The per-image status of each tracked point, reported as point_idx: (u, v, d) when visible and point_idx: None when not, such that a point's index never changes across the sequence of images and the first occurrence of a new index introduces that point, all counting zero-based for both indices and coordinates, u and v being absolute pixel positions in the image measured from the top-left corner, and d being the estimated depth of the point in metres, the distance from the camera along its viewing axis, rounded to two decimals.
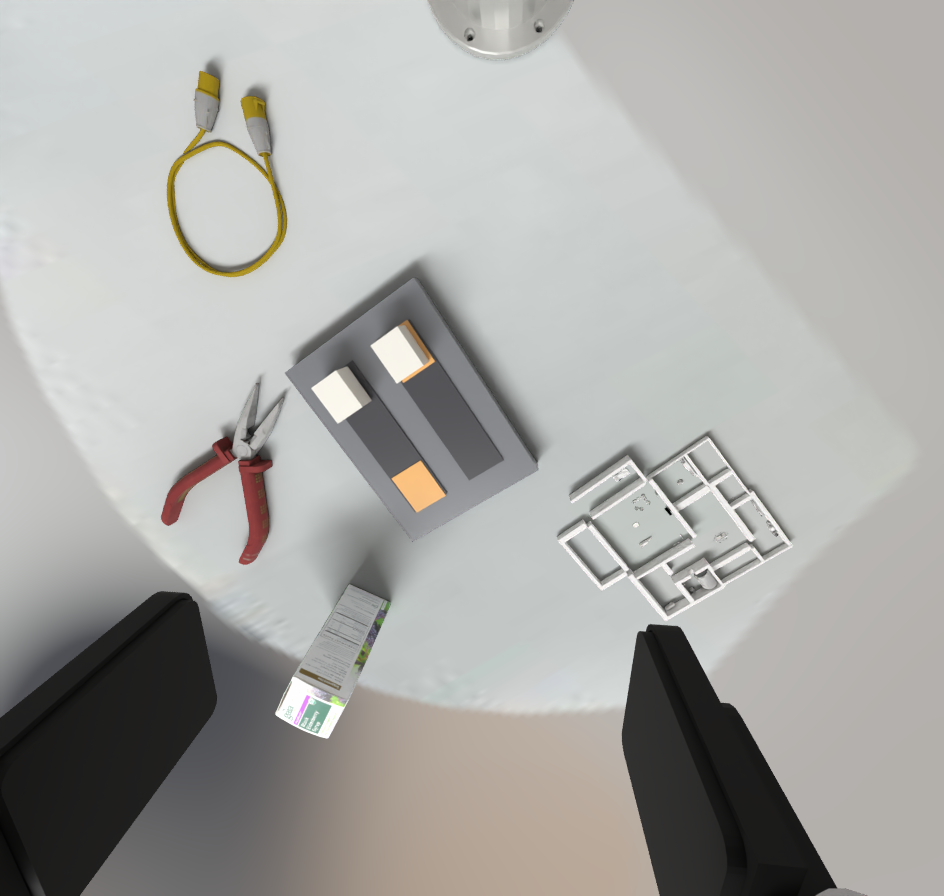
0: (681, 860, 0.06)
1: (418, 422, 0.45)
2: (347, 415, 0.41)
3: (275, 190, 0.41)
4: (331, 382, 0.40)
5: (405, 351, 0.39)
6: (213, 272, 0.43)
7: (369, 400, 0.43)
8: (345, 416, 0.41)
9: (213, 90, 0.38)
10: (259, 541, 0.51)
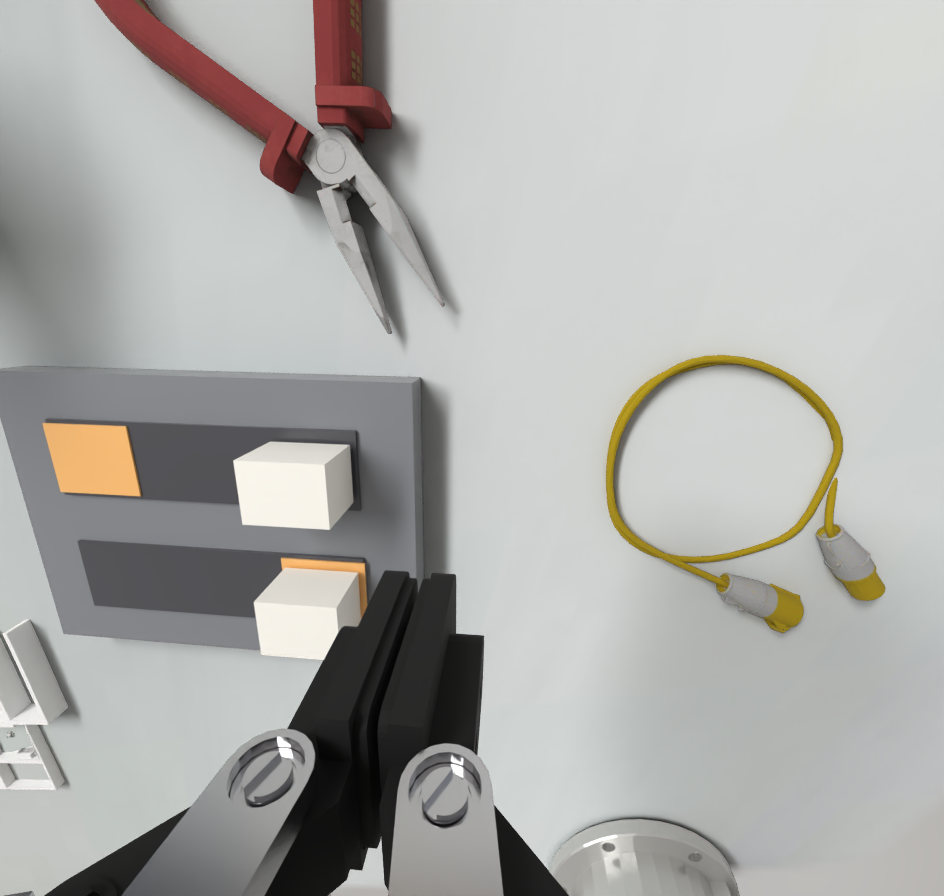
0: None
1: (209, 532, 0.24)
2: (240, 489, 0.19)
3: None
4: (314, 506, 0.19)
5: (296, 646, 0.21)
6: (659, 380, 0.21)
7: None
8: (240, 484, 0.19)
9: (849, 585, 0.23)
10: None
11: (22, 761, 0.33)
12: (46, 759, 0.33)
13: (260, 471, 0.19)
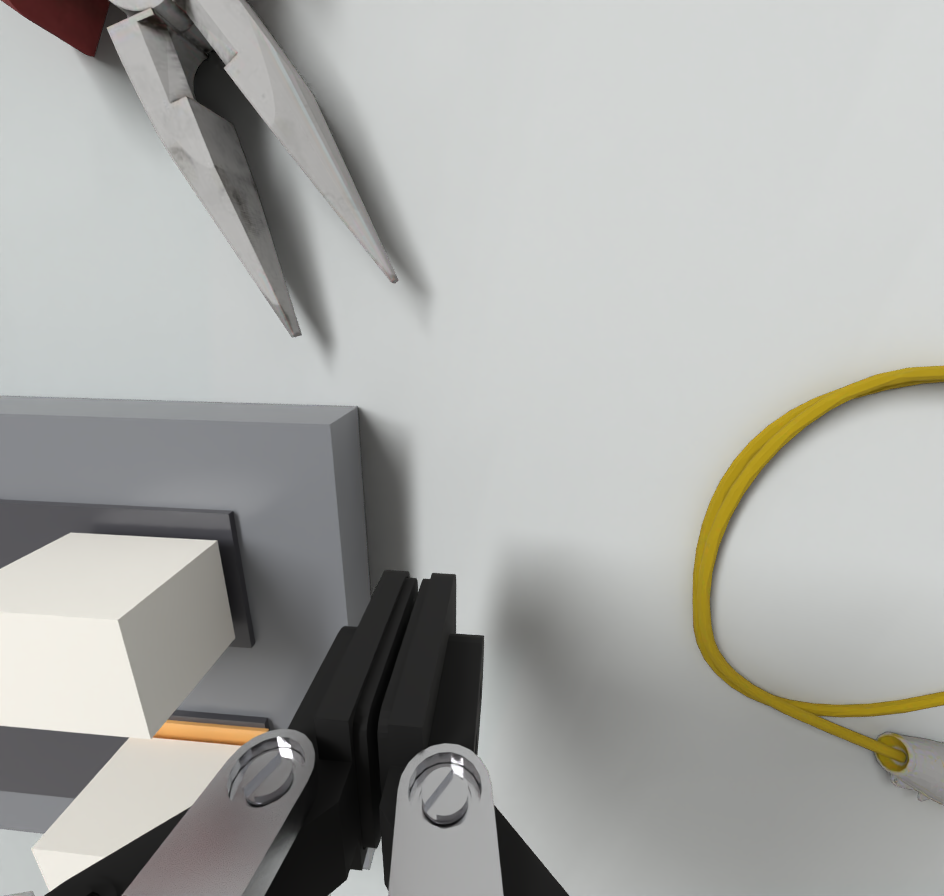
0: None
1: None
2: None
3: (807, 723, 0.14)
4: (112, 698, 0.09)
5: None
6: (812, 415, 0.11)
7: None
8: None
9: None
10: None
11: None
12: None
13: None
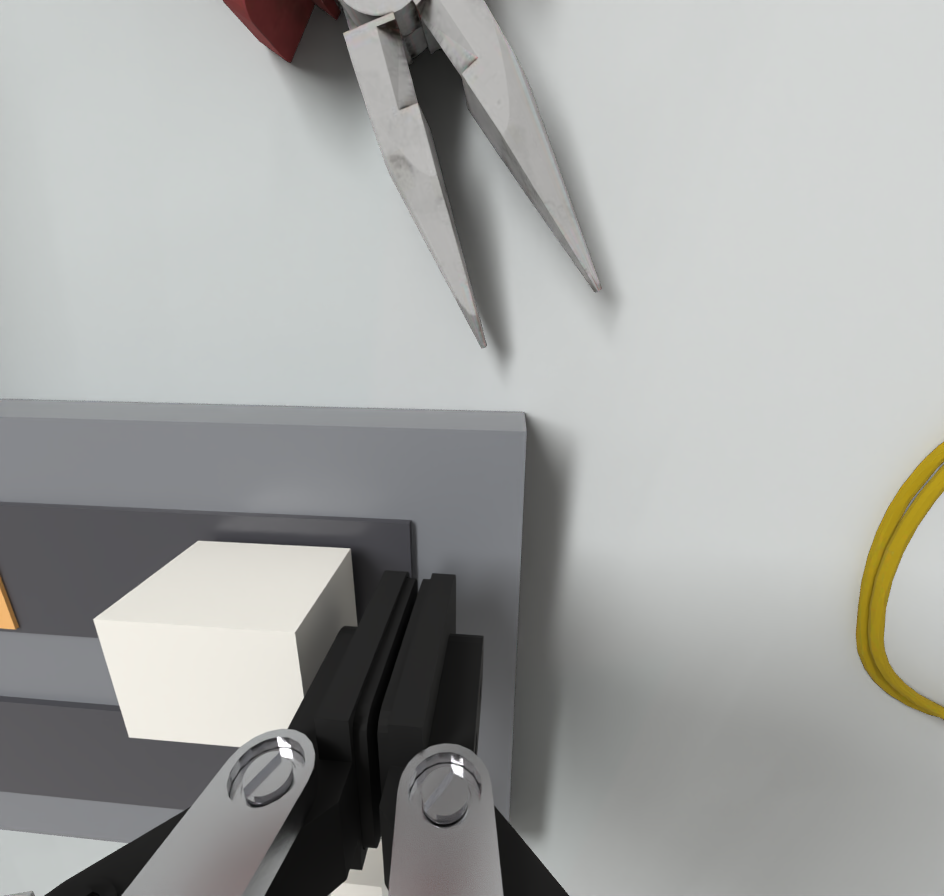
0: None
1: None
2: (115, 674, 0.09)
3: None
4: (276, 711, 0.09)
5: None
6: None
7: None
8: (114, 665, 0.09)
9: None
10: None
11: None
12: None
13: (154, 642, 0.09)
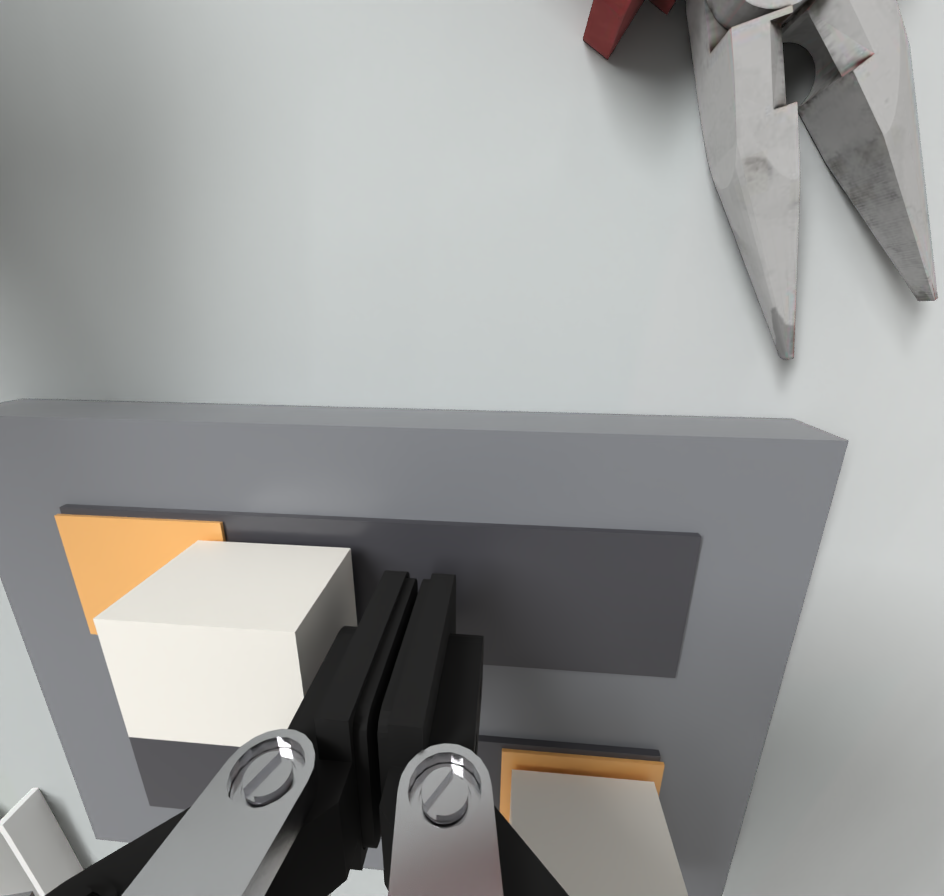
0: None
1: None
2: (115, 674, 0.09)
3: None
4: (276, 711, 0.09)
5: None
6: None
7: None
8: (114, 664, 0.09)
9: None
10: None
11: None
12: None
13: (154, 641, 0.09)
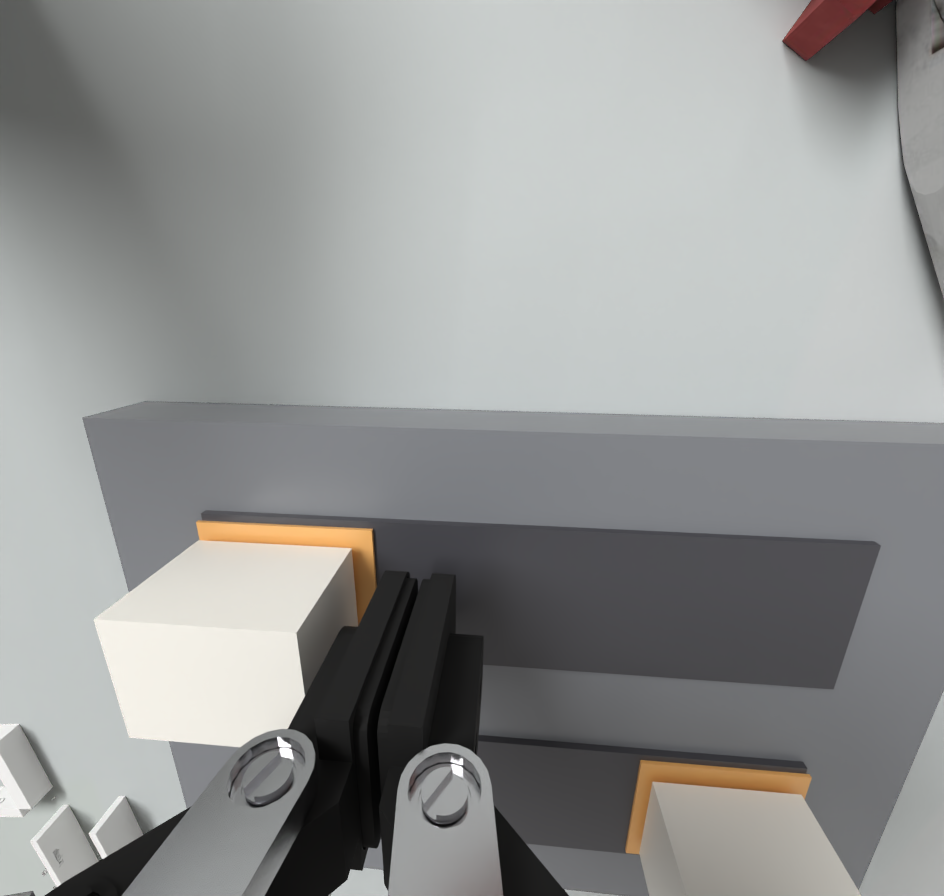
0: None
1: (500, 713, 0.13)
2: (115, 674, 0.09)
3: None
4: (277, 712, 0.09)
5: None
6: None
7: None
8: (114, 665, 0.09)
9: None
10: None
11: None
12: None
13: (155, 642, 0.09)
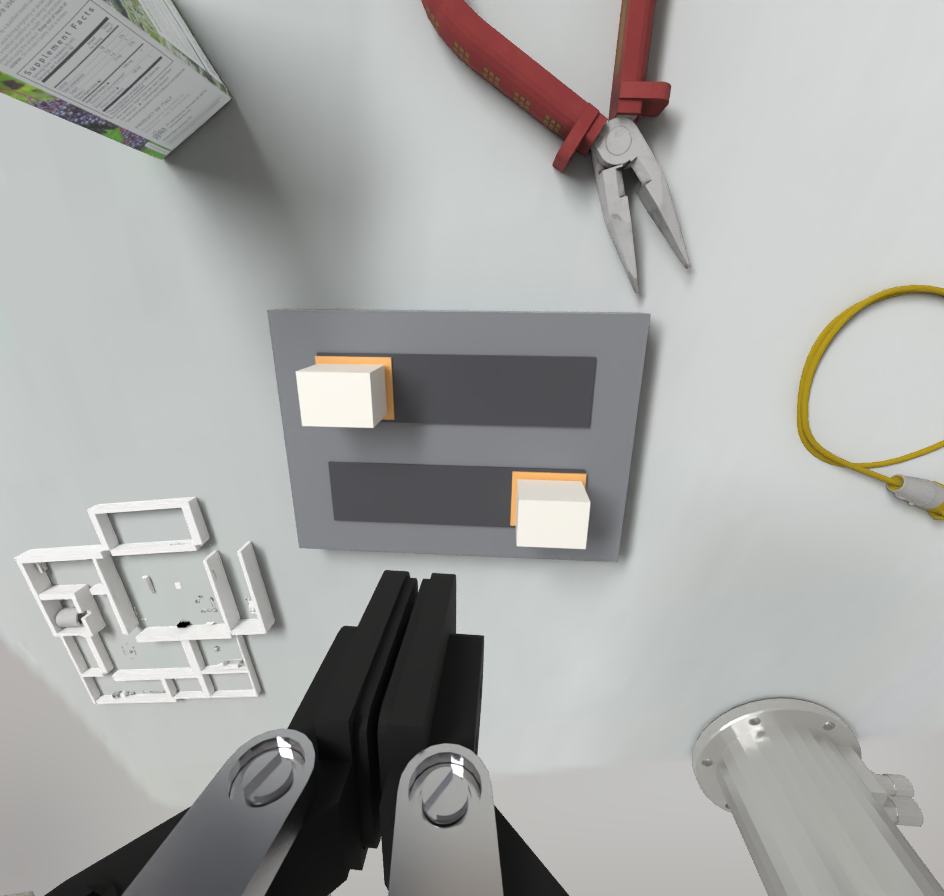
0: None
1: (448, 451, 0.28)
2: (300, 395, 0.24)
3: (854, 469, 0.28)
4: (361, 409, 0.24)
5: (549, 537, 0.26)
6: (856, 310, 0.25)
7: None
8: (300, 391, 0.24)
9: None
10: (431, 5, 0.21)
11: (229, 671, 0.37)
12: (250, 669, 0.37)
13: (317, 380, 0.24)
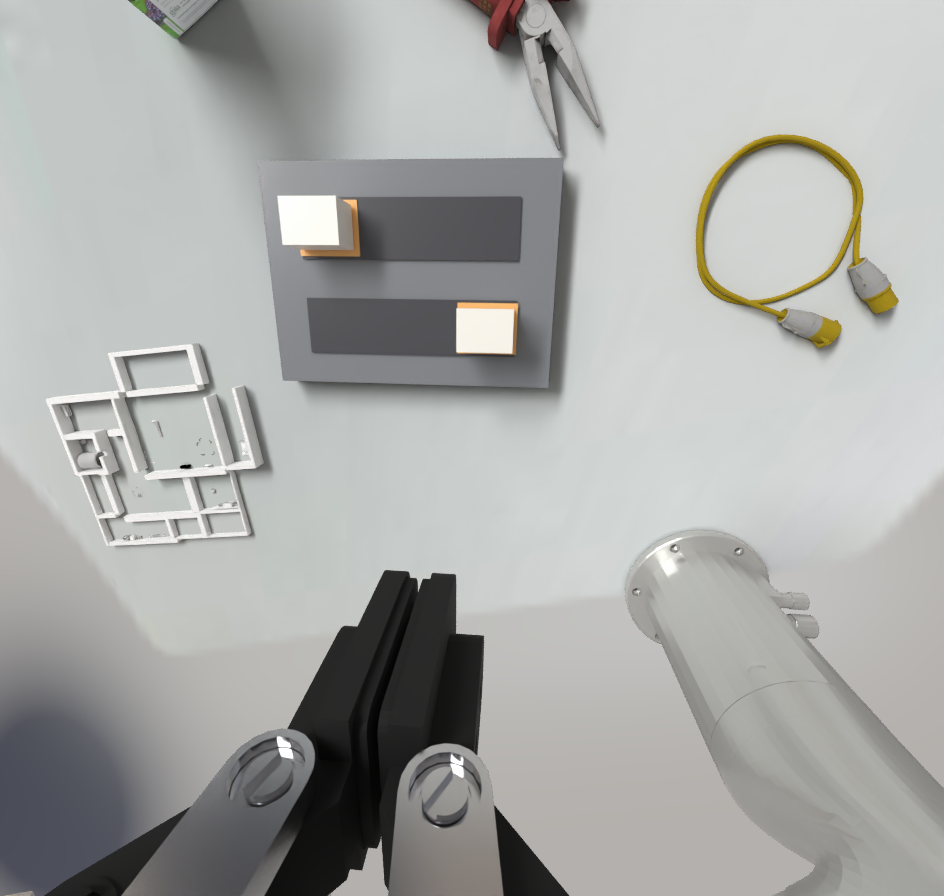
0: None
1: (405, 286, 0.34)
2: (281, 217, 0.30)
3: (746, 303, 0.34)
4: (329, 228, 0.30)
5: (482, 343, 0.31)
6: (734, 158, 0.31)
7: (300, 248, 0.33)
8: (281, 213, 0.30)
9: (872, 302, 0.33)
10: None
11: (223, 510, 0.43)
12: (242, 509, 0.43)
13: (294, 202, 0.30)
